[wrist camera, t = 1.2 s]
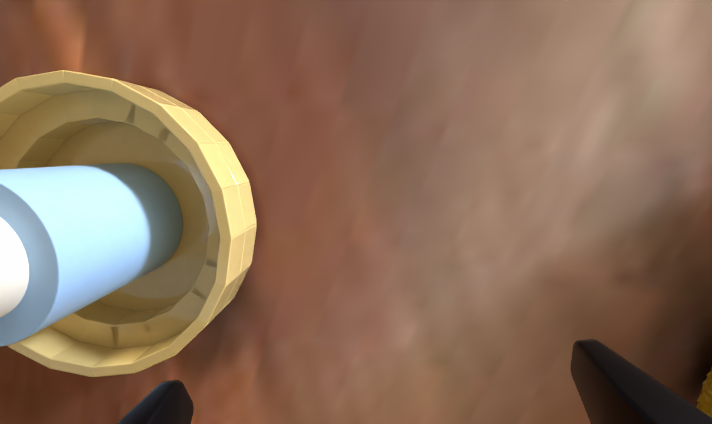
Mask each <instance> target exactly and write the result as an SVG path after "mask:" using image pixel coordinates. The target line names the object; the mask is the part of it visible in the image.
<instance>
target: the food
mask: <svg viewBox="0 0 712 424" xmlns="http://www.w3.org/2000/svg"><path fill="white" fill-rule="evenodd" d="M697 402H699V403H698V404H697V406H696V408H698V409H699V410H701V411H702V412H704V413H705V414H707V415H708V416H710V417H711V418H712V367H711V371H710V372H709V373H708V374H707V379H706V380H705V381H704V382H703V388H702V391H701V394H700V396H699V398H698V400H697Z"/></svg>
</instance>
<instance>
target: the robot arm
mask: <svg viewBox="0 0 712 424" xmlns="http://www.w3.org/2000/svg"><path fill="white" fill-rule="evenodd" d="M571 374H572V377H573V380H574V382H575V385H576V387H577V390H578V392H579V395H580V397H581V400H582V402H583V405H584V407H585V410H586V412H587V414H588V417H589V419H590V422H591V424H712V418H711V417H710V416H708V415H707V414H705V413H704V412H702V411H701V410H699V409H698V408H696V407H695V406H693V405H692V404H691V403H689V402H688V401H686V400H685V399H683V398H682V397H680V396H679V395H677V394H676V393H674V392H673V391H671V390H670V389H668V388H667V387H665V386H664V385H663V384H661V383H660V382H658V381H657V380H655V379H654V378H652V377H651V376H649V375H648V374H646V373H645V372H643V371H642V370H640V369H639V368H637V367H636V366H635V365H633V364H632V363H630V362H629V361H627V360H626V359H624V358H623V357H621V356H620V355H618V354H617V353H615V352H614V351H612V350H611V349H609V348H608V347H607V346H605V345H604V344H602V343H601V342H599V341H597V340H595V339H587V340H578V341H576V342H575V343H574V345H573V352H572V360H571ZM192 416H193V402H192V400H191V398H190V396H189V394H188V392H187V390H186V388H185V386H184V384H183V383H182V382H181V381H180V380H174V381H165V382H162V383H161V384H159V385H158V386H157V387H156V388H155V389H154V390H153V391H152V392H151V393H150V394H149V395H147V396H146V397H145V398H144V399H143V400H142V401H141V402H140V403H139V404H138V405H137V406H136V407H134V408H133V409H132V410H131V411H130V412H129V413H128V414H127V415H126V416H125V417H124V418H123V419H121V420H120V421H119V422H118V423H117V424H191V420H192Z"/></svg>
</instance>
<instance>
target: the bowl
mask: <svg viewBox="0 0 712 424" xmlns="http://www.w3.org/2000/svg"><path fill="white" fill-rule="evenodd" d="M111 163H130V164H135V165H139V166H142V167H144V168H147V169H149V170H151V171H152V172H154V173H155V174H157V175H158V176H160V177H161V178H162V179H163V180H164V181H165V182H166V183H167V184H168V185H169V187H170V188H171V189H172V191H173V192H174V194H175V196H176V198H177V200H178V202H179V205H180V208H181V212H182V218H183V231H182V236H181V240H180V243H179V245H178V247H177V249H176V251H175V253H174V254H173V256H172V257H171V258H170V259H169V260H168V261H167V262H166V263H164V264H163V265H162V266H160V267H159V268H157V269H155V270H153V271H151V272H149V273H147V274H146V275H144V276H142V277H140V278H138V279H136V280H134V281H132V282H131V283H129V284H127V285H125V286H123V287H121V288H119V289H117V290H116V291H114V292H112V293H110V294H108V295H106V296H104V297H102V298H101V299H99V300H97V301H95V302H93V303H91V304H89V305H87V306H85V307H84V308H82V309H80V310H78V311H76V312H74V313H72V314H70V315H69V316H67V317H65V318H63V319H61V320H59V321H57V322H55V323H54V324H52V325H50V326H48V327H46V328H44V329H42V330H40V331H39V332H37V333H35V334H33V335H31V336H29V337H27V338H25V339H23V340H21V341H19V342H16V343H14V344H10V345H6V346H8V347H9V348H11V349H13V350H15V351H17V352H19V353H20V354H22V355H24V356H26V357H28V358H30V359H32V360H34V361H36V362H38V363H40V364H42V365H43V366H45V367H47V368H50V369H54V370H59V371H64V372H69V373H74V374H79V375H83V376H88V377H101V376H111V375H121V374H132V373H137V372H140V371H142V370H144V369H146V368H149V367H151V366H153V365H155V364H158V363H160V362H162V361H164V360H167V359H169V358H171V357H173V356H175V355H177V354H178V353H179V352H180V351H181V350H182V349H183V348H184V347H185V346H186V345H187V344H188V343H189V342H190V341H191V340H192V339H193V338H194V337H195V336H196V335H197V334H198V333H200V332H201V331H202V330H203V329H204V328H205V327H206V326H207V325H208V324H209V323H210V322H211V321H212V320H213V319H214V318H215V317H216V316H217V315H218V314H219V313H220V312H221V311H222V310H223V309H224V308H225V307H226V306H227V305H228V304H229V303H230V302H231V301H232V300H233V299H234V297H235V295H236V293H237V291H238V289H239V287H240V285H241V283H242V281H243V279H244V277H245V275H246V273H247V271H248V269H249V267H250V265H251V262H252V256H253V249H254V242H255V234H256V227H257V224H256V216H255V211H254V205H253V199H252V194H251V188H250V183H249V180H248V178H247V176H246V174H245V172H244V170H243V169H242V167H241V165H240V163H239V161H238V159H237V157H236V155H235V153H234V151H233V149H232V147H231V145H230V144H229V142H228V141H227V140H226V139H225V138H224V137H223V136H222V135H221V134H220V133H219V132H218V131H217V130H216V129H215V128H214V127H213V126H212V125H211V124H210V123H209V122H208V121H207V120H206V119H205V118H204V117H203V116H202V115H201V114H200V113H199V112H198V111H197V110H195V109H193V108H191V107H189V106H187V105H186V104H184V103H182V102H180V101H178V100H176V99H174V98H173V97H171V96H169V95H167V94H165V93H163V92H161V91H158V90H155V89H151V88H147V87H143V86H139V85H136V84H132V83H128V82H124V81H120V80H116V79H112V78H107V77H101V76H96V75H90V74H84V73H79V72H73V71H67V70H61V71H55V72H49V73H43V74H37V75H31V76H25V77H19V78H16V79H13V80H12V81H10V82H8V83H7V84H5V85H3V86H2V87H0V170H3V169H21V168H39V167H57V166H75V165H93V164H111Z"/></svg>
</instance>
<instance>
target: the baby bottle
mask: <svg viewBox="0 0 712 424" xmlns="http://www.w3.org/2000/svg"><path fill="white" fill-rule="evenodd" d="M182 231H183V218H182V212H181V208H180V205H179V202H178V200H177V198H176V196H175V194H174V192H173V191H172V189H171V188H170V187H169V185H168V184H167V183H166V182H165V181H164V180H163V179H162V178H161V177H160V176H158V175H157V174H155V173H154V172H152V171H151V170H149V169H147V168H144V167H142V166H139V165H135V164H130V163H111V164H93V165H75V166H57V167H39V168H21V169H3V170H0V346H6V345H10V344H14V343H16V342H19V341H21V340H23V339H25V338H27V337H29V336H31V335H33V334H35V333H37V332H39V331H40V330H42V329H44V328H46V327H48V326H50V325H52V324H54V323H55V322H57V321H59V320H61V319H63V318H65V317H67V316H69V315H70V314H72V313H74V312H76V311H78V310H80V309H82V308H84V307H85V306H87V305H89V304H91V303H93V302H95V301H97V300H99V299H101V298H102V297H104V296H106V295H108V294H110V293H112V292H114V291H116V290H117V289H119V288H121V287H123V286H125V285H127V284H129V283H131V282H132V281H134V280H136V279H138V278H140V277H142V276H144V275H146V274H147V273H149V272H151V271H153V270H155V269H157V268H159V267H160V266H162V265H163V264H164V263H166V262H167V261H168V260H169V259H170V258H171V257H172V256H173V254H174V253H175V251H176V249H177V247H178V245H179V243H180V240H181V236H182Z"/></svg>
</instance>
